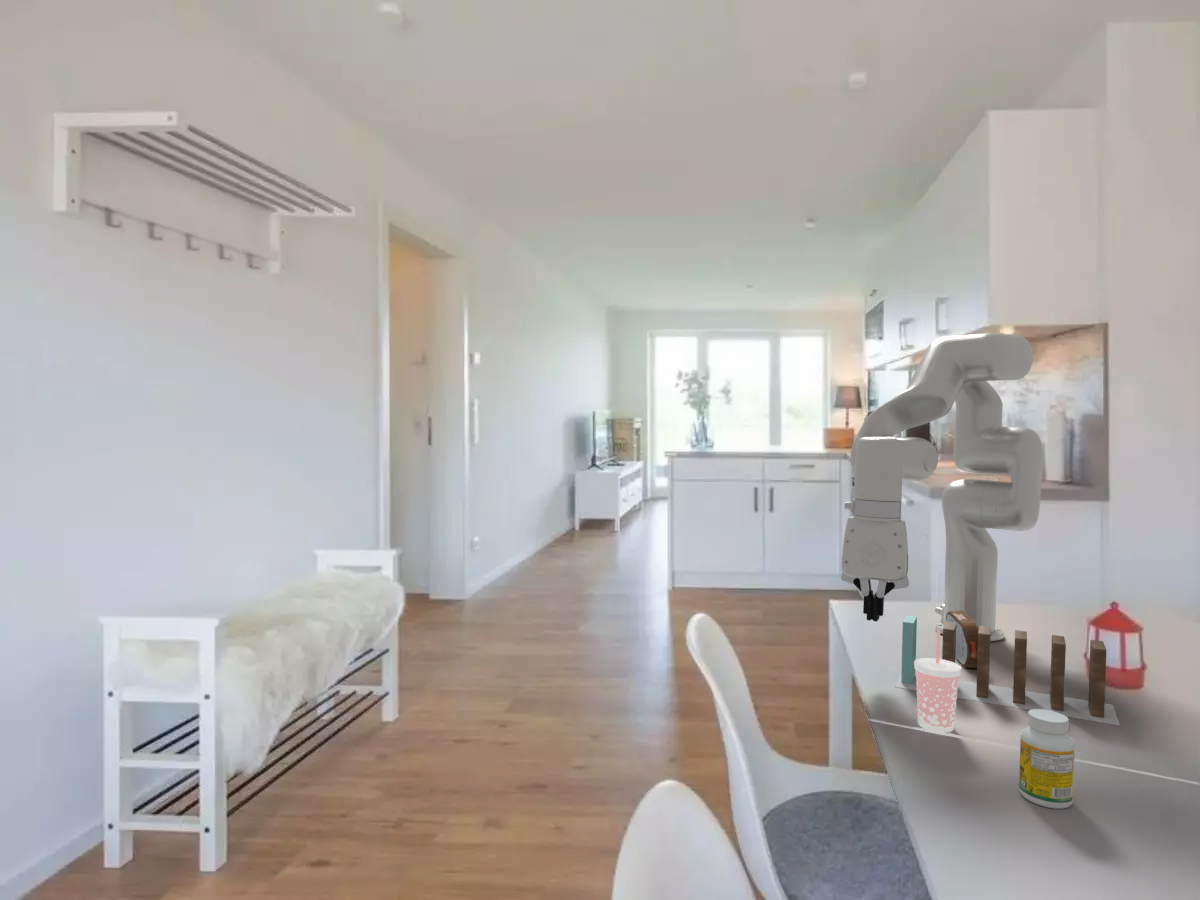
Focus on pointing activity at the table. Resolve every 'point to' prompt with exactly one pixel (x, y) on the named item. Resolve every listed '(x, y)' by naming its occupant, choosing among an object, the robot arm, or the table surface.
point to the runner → (1026, 701)
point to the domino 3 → (983, 661)
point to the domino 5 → (1057, 672)
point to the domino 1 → (909, 649)
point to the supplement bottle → (1047, 760)
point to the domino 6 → (1097, 678)
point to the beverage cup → (936, 692)
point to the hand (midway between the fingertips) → (873, 619)
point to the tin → (965, 638)
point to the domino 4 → (1020, 667)
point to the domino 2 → (949, 642)
